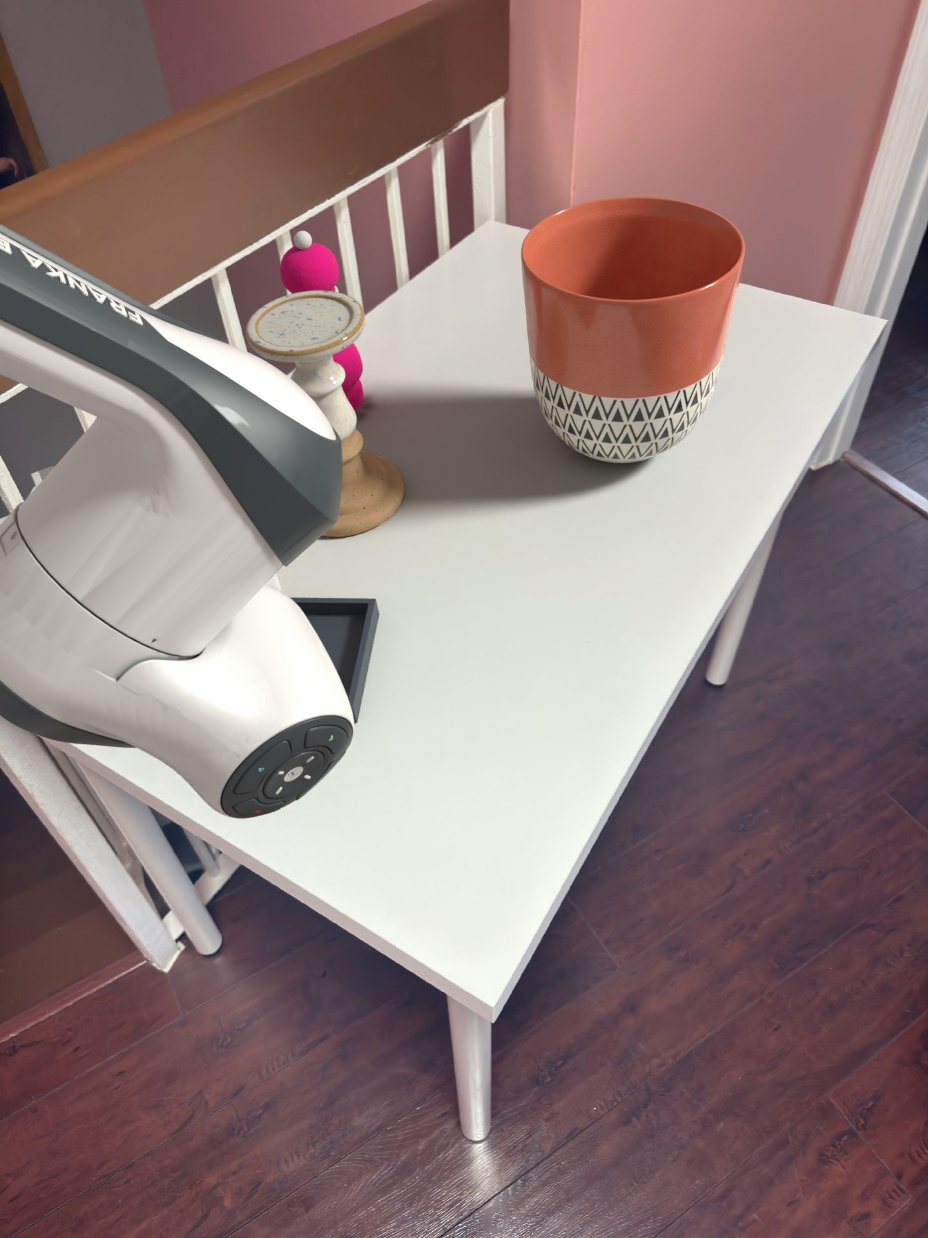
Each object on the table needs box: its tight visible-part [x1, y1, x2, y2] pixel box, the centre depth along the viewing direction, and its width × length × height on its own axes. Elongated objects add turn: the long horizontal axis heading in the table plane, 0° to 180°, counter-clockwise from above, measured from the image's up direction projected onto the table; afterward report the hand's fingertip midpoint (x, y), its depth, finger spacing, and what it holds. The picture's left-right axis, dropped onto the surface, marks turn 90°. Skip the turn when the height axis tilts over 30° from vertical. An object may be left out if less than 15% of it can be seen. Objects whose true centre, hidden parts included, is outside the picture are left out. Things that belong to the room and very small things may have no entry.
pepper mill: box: [279, 230, 365, 412], centre depth 98 cm, size 7×7×20 cm
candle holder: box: [245, 290, 405, 538], centre depth 86 cm, size 12×12×20 cm
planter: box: [520, 196, 746, 464], centre depth 88 cm, size 20×20×21 cm
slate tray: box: [288, 596, 380, 724], centre depth 78 cm, size 12×12×2 cm
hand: (117, 450), depth 60 cm, fingers open, 8 cm apart
